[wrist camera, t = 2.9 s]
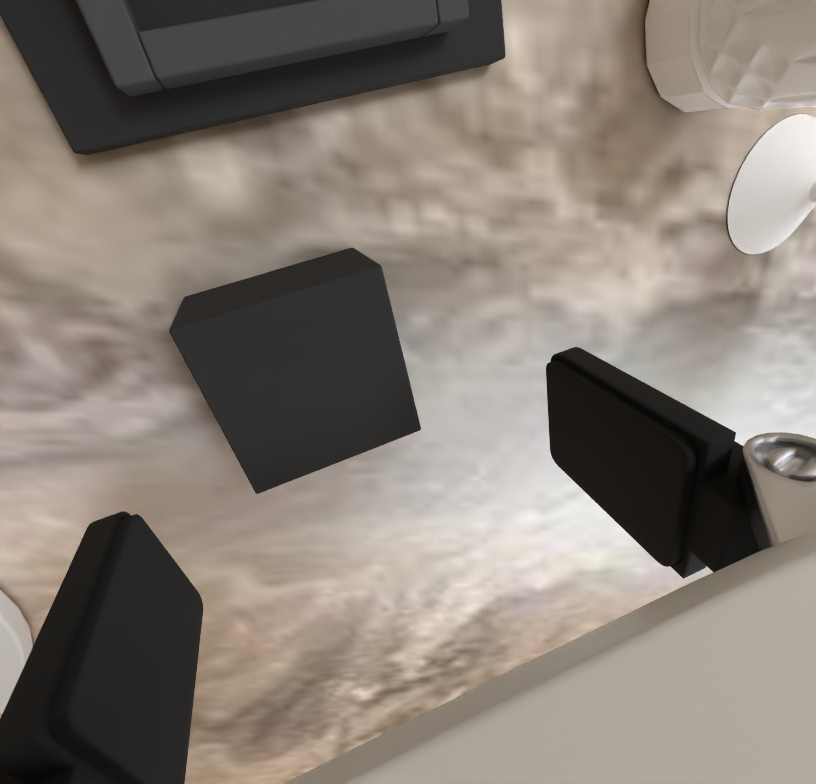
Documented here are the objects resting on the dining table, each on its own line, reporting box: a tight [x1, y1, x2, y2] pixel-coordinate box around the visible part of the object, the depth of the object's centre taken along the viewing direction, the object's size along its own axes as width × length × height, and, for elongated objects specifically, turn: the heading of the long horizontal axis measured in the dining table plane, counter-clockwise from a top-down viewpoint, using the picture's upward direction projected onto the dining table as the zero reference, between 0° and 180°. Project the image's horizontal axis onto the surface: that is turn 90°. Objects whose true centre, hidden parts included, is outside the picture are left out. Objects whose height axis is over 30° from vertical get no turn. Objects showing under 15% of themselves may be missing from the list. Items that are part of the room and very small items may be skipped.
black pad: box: [169, 248, 421, 494], centre depth 16 cm, size 6×6×4 cm
